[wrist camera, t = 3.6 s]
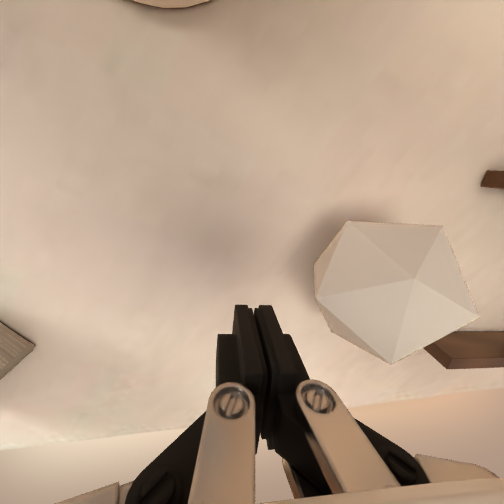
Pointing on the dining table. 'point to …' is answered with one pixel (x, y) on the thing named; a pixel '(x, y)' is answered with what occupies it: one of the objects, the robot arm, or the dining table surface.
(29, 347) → the cosmetic box
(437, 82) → the dining table surface
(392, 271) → the die
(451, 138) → the dining table surface
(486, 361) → the bay
